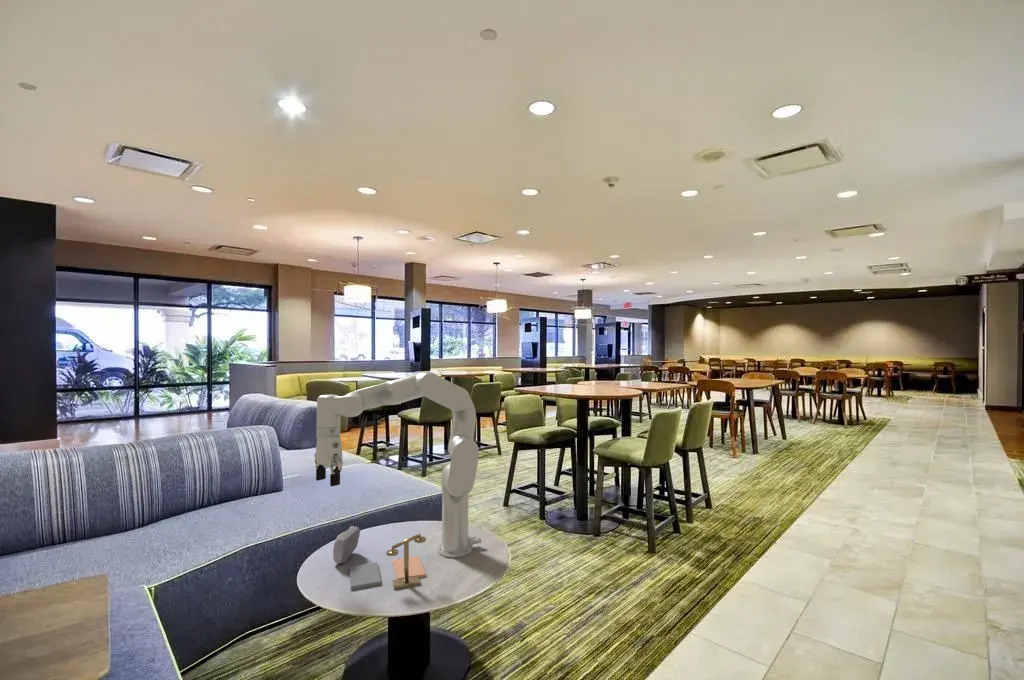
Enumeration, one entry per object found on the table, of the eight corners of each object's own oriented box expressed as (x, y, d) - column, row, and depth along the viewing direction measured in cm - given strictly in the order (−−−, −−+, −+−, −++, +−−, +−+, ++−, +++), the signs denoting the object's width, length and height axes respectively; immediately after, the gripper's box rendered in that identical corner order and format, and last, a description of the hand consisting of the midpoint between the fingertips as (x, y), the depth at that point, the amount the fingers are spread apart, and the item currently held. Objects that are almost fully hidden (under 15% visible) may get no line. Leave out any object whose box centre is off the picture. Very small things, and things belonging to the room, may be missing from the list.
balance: (424, 578, 154) (424, 530, 154) (426, 584, 150) (426, 535, 150) (385, 585, 150) (385, 535, 150) (387, 591, 146) (387, 540, 146)
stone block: (344, 568, 161) (344, 538, 162) (331, 566, 162) (331, 537, 162) (362, 553, 173) (362, 525, 173) (350, 551, 174) (350, 524, 174)
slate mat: (377, 565, 163) (377, 562, 163) (381, 585, 150) (381, 581, 150) (349, 570, 160) (349, 566, 160) (350, 590, 147) (350, 586, 147)
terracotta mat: (418, 559, 168) (418, 555, 168) (425, 577, 155) (425, 573, 155) (392, 563, 165) (392, 559, 165) (397, 582, 152) (397, 578, 152)
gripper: (352, 433, 158) (351, 485, 158) (326, 427, 170) (325, 475, 169) (330, 436, 152) (329, 490, 152) (305, 429, 164) (305, 479, 164)
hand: (327, 482), depth 161 cm, fingers open, 9 cm apart
